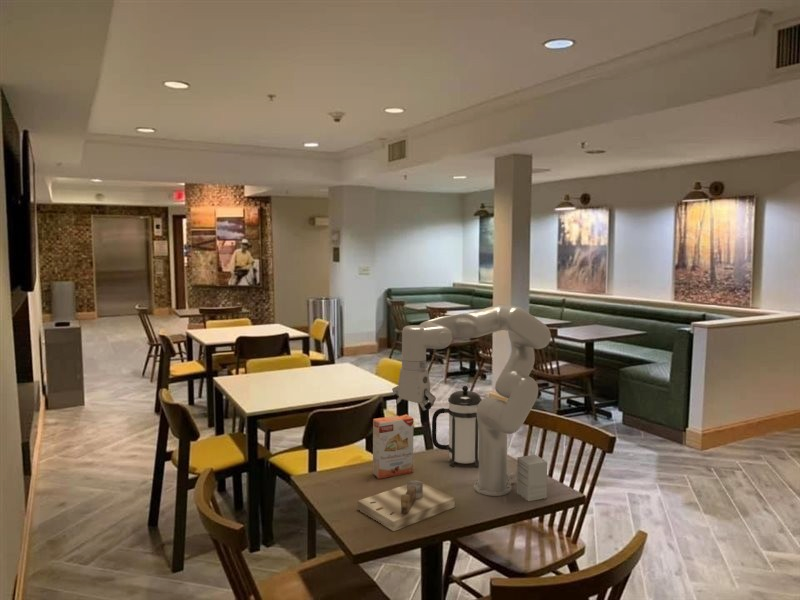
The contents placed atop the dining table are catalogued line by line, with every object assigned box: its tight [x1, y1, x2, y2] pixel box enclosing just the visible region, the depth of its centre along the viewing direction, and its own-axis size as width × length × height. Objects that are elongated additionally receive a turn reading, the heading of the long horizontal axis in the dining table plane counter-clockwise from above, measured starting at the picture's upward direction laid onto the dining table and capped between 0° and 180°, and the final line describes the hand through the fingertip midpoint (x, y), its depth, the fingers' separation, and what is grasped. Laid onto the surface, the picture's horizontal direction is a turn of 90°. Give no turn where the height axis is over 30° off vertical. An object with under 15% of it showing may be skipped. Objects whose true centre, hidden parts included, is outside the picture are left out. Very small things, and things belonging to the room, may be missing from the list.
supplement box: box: [516, 454, 548, 502], centre depth 196 cm, size 7×7×13 cm
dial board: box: [357, 482, 456, 532], centre depth 187 cm, size 25×18×3 cm
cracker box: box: [372, 413, 415, 480], centre depth 215 cm, size 14×6×21 cm, turn 117°
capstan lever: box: [401, 480, 424, 514], centre depth 183 cm, size 18×5×5 cm, turn 164°
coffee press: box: [431, 385, 483, 469], centre depth 225 cm, size 17×16×30 cm
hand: (413, 418), depth 186 cm, fingers open, 9 cm apart
